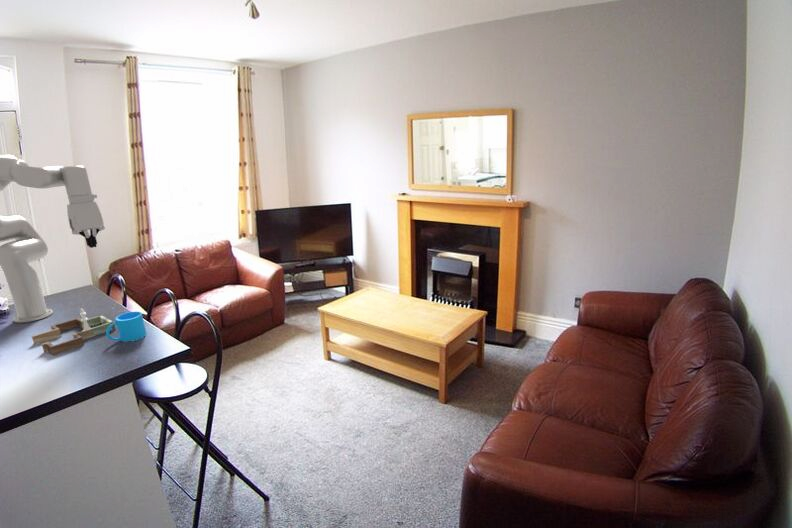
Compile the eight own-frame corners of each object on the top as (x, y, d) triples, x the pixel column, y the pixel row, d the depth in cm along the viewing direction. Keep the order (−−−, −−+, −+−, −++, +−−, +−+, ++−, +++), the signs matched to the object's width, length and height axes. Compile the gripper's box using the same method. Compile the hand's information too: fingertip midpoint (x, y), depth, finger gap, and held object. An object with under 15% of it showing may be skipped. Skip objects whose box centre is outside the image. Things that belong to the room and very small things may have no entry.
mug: (141, 330, 164) (137, 309, 162) (149, 336, 159) (145, 315, 156) (105, 341, 156) (99, 320, 153) (112, 348, 150) (107, 326, 148)
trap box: (29, 340, 159) (27, 332, 158) (97, 319, 176) (96, 312, 175) (49, 356, 146) (47, 348, 145) (121, 332, 163) (119, 324, 162)
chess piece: (86, 337, 160) (79, 312, 157) (76, 335, 162) (70, 310, 158) (99, 331, 164) (92, 306, 161) (89, 329, 166) (83, 304, 163)
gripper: (99, 196, 172) (110, 241, 177) (53, 201, 161) (66, 250, 166) (107, 197, 168) (117, 243, 173) (60, 203, 157) (73, 252, 162)
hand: (92, 246), depth 170 cm, fingers closed
